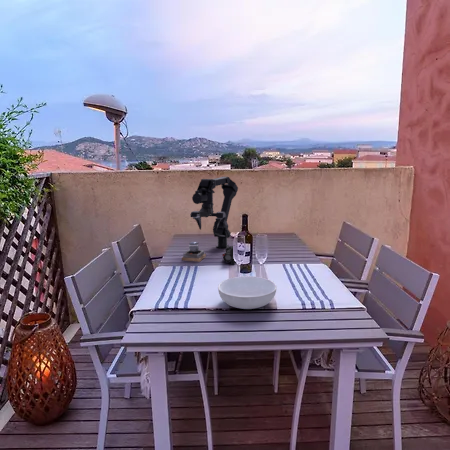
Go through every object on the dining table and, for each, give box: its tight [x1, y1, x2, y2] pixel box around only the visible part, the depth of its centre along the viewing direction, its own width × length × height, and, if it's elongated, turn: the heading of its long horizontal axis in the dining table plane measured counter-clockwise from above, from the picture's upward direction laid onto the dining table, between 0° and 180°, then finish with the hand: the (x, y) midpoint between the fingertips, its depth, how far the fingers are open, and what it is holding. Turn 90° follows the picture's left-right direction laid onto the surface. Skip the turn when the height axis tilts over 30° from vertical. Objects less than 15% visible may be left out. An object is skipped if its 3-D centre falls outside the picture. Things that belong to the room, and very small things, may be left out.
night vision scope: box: [221, 245, 236, 265], centre depth 175 cm, size 8×18×10 cm
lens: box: [188, 241, 200, 254], centre depth 180 cm, size 5×5×7 cm
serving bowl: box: [217, 275, 278, 310], centre depth 123 cm, size 21×21×7 cm
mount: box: [181, 249, 207, 263], centre depth 181 cm, size 10×10×4 cm
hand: (208, 229), depth 190 cm, fingers open, 9 cm apart
